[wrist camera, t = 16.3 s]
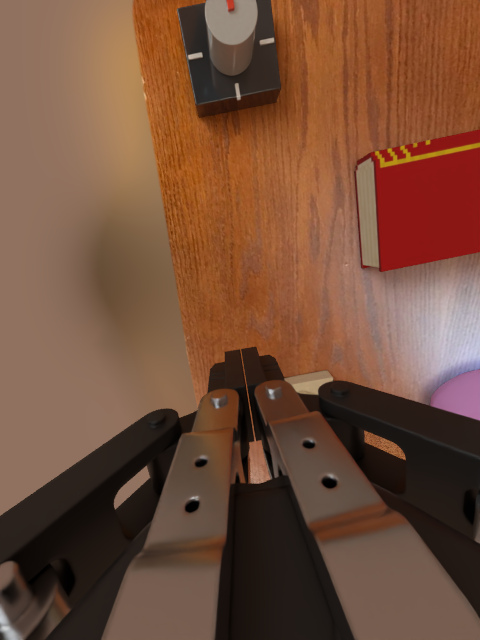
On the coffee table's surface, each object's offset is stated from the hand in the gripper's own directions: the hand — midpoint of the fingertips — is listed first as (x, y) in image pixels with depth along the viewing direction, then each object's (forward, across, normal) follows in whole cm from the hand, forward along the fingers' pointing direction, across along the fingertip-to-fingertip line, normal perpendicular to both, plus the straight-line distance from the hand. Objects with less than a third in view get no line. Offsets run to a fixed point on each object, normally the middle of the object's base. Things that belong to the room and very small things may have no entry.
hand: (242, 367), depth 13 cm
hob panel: (+24, -4, -24) cm, 34 cm away
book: (+24, -26, -7) cm, 37 cm away
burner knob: (+21, -4, -24) cm, 32 cm away
